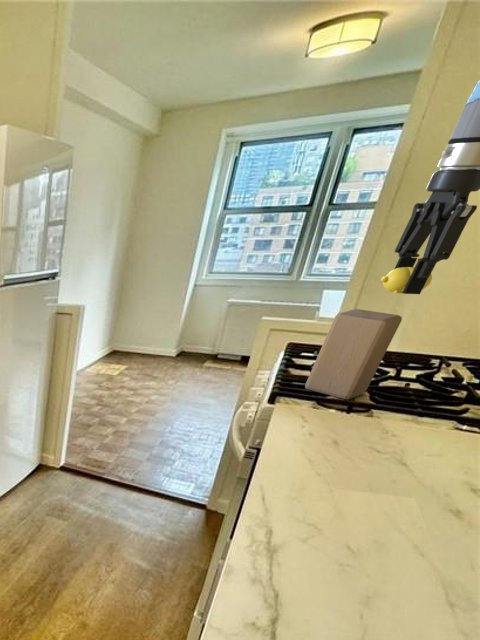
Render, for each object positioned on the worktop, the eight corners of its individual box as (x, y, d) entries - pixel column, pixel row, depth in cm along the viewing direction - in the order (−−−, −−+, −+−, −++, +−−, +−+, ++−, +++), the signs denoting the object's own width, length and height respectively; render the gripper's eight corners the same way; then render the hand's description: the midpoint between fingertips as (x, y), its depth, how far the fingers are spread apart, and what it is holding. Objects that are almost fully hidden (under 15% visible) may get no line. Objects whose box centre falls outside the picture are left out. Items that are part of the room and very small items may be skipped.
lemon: (414, 290, 107) (426, 266, 105) (430, 295, 103) (443, 269, 101) (368, 289, 109) (380, 265, 107) (382, 293, 105) (394, 268, 103)
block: (365, 393, 124) (405, 315, 115) (348, 401, 120) (388, 320, 110) (319, 382, 132) (353, 307, 122) (301, 389, 127) (335, 312, 118)
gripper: (408, 170, 103) (358, 283, 115) (474, 168, 88) (408, 298, 99) (452, 169, 102) (396, 284, 113) (526, 167, 86) (453, 300, 97)
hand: (402, 290), depth 106 cm, fingers closed on lemon, 5 cm apart
